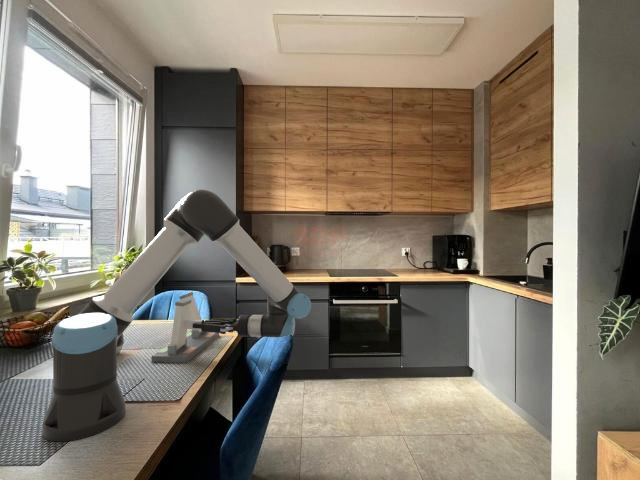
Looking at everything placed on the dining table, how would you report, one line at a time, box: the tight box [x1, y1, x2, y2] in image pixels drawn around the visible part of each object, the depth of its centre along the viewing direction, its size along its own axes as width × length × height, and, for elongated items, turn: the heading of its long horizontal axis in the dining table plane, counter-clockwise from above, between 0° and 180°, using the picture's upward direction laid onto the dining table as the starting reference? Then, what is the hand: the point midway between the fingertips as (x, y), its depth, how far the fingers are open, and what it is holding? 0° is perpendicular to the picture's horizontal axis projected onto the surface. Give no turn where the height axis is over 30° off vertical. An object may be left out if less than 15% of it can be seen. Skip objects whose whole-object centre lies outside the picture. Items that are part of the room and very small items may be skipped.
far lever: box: [178, 291, 204, 335], centre depth 131 cm, size 3×6×18 cm, turn 177°
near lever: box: [170, 299, 191, 351], centre depth 113 cm, size 3×6×18 cm, turn 177°
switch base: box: [151, 330, 220, 364], centre depth 122 cm, size 12×30×5 cm, turn 177°
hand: (185, 324), depth 113 cm, fingers closed
